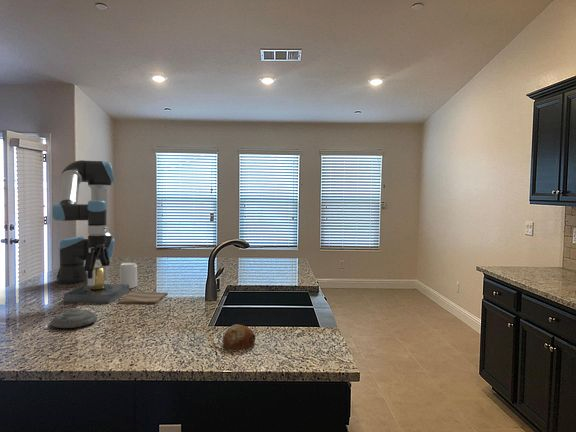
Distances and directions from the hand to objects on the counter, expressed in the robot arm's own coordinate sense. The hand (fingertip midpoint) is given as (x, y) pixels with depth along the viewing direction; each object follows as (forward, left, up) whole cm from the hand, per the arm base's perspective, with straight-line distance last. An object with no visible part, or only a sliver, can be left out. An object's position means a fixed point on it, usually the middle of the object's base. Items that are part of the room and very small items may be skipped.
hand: (97, 282), depth 181 cm
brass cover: (0, 0, -7) cm, 7 cm away
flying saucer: (+37, +10, -7) cm, 39 cm away
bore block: (0, 0, -7) cm, 7 cm away
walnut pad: (+2, +22, -7) cm, 23 cm away
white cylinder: (-19, +6, -7) cm, 21 cm away
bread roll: (+53, +72, -7) cm, 90 cm away
